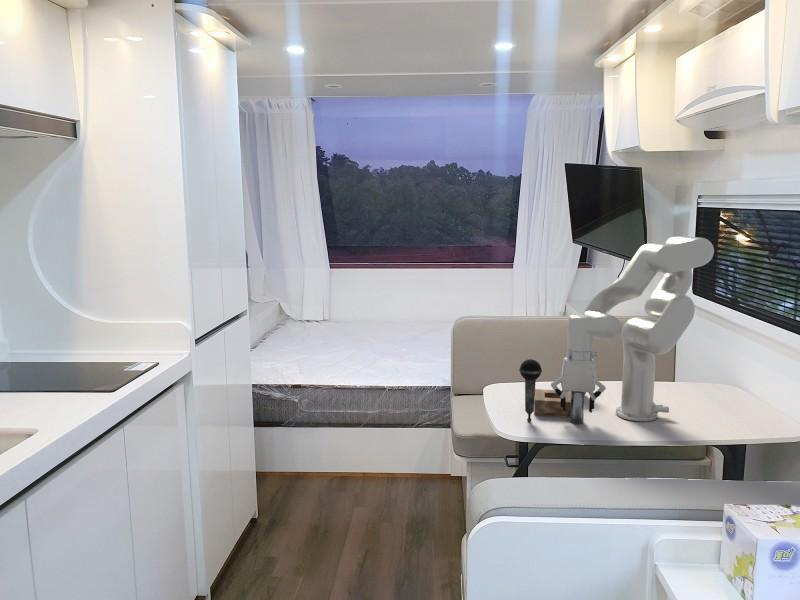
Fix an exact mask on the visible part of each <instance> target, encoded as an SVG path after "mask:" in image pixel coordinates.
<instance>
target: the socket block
mask: <svg viewBox="0 0 800 600" xmlns="http://www.w3.org/2000/svg"><path fill="white" fill-rule="evenodd" d="M565 398H566V403H565V411H563V407H560V403H561V398H560V396H559V395H558V394H557V393H556V392H555V390H554V389H541V388H535V399H534V412H533V415H534V416H544V417H546V416H547V417H558V418H559V417H561V418H562V417H563V418H570V409H571V391H568V392H567V393H566V395H565Z"/></svg>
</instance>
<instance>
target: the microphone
mask: <svg viewBox="0 0 800 600" xmlns="http://www.w3.org/2000/svg"><path fill="white" fill-rule="evenodd" d="M518 370H519V373H520V375H521V377H522V378H523V379H524V402H525V403H524V404H525V405H524V406H525V408H524V410H525V412H526V414H527V419H526V421H527V422H528V423H531V422H532V418H531V415H532V414H533V413H534V403H535V389H536V380H537V379H539V377H540V376H541V374H542V372H543V369H542V366H541V364H540V363H539V362H538V361H537V360H535V359H532V358H529V359H526V360H524V361H523V362H522V363H521V364H520V366H519V369H518Z"/></svg>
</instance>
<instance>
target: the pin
mask: <svg viewBox="0 0 800 600" xmlns="http://www.w3.org/2000/svg"><path fill="white" fill-rule="evenodd" d="M584 394H585V392H573V391H571V409H570V417H569V423H571V424H573V425H583V424H584V416H585V415H584V412H585V395H586V394H585V395H584Z"/></svg>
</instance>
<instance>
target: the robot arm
mask: <svg viewBox="0 0 800 600" xmlns="http://www.w3.org/2000/svg"><path fill="white" fill-rule="evenodd" d="M714 253H715V248H714V245H713V244H712V242H711V241H710V240H709V239H706V238H705V237H700V236H699V237H697V236H688V235H687V236H686V235H684V236H683V235H677V236H676V235H675V236H671V237H669V238H668V239H667V240H665V242H664V243H654V242H653V243H651V242H650V243H645V244H643V245H641V246H640V247H639V248H638V249H637V251H636V252H635V253H634V255H633V256H632V258H631V259H630V261H629V262H628V263H627V265H626V267H625V268H624V270H623V271H622V272H621V274H620V275H619V276H618V278H617V279H616V280H615V281H614V282H612V283H610V284H609V285H607V286H606V287H605V288H604V289H602V290H600V292H598V293H597V294H595V296H593V298H592V299H591V300H590V302H589V303H588V305H587V306H586V307H585V309H584V311H583V312H582V314H580V313H579V314H577V313H576V314H571V315H569V317H568V319H567V331H566V332H567V333H566V334H567V335H566V337H567V338H566V344H567V345H566V357H563V360H562V366H561V375H560V377H558V378H557V379H555V380H554V381H552V382H551V383H550V386H551V388H552V390H555V392H556V393H557V394H558V395H559V396H560V398H561V403H560V407H563V411H565V403H566V398H565V395H566V393H567V392H568V391H573V392H586V393H588V395H589V397H588V412H589V414H590V413H593V410H594V409H595V401H596V399H598V397H600V396H601V395H602V393H604V392H605V390H606V389H607V388H606V386H605V385H604V384H603V383H602V382H601V381H599V380H598V379H597V377H596V364H595V359H594V357H598V352H597V351H594V350H593V346H594V345H593V344H594V341H593V340H594V339H596V340H597V339H599V340H612V339H614V338H616V337H618V336H619V335H620V334H621V341H622V348H623V350H622V351H623V360H622V361H623V363H622V364H623V365H622V367H623V368H622V382H621V383H622V384H621V401H620V406H618V407H616V408H615V414H616V415H617V416H618V417H620V418H621V419H625V420H628V421H633V422H652V421H655V420H657V419H658V415H659V414H658V413H666V414H668V413H670V407H669V406H664V405H663V404H656V403H655V402H654V396H655V395H654V393H655V379H656V378H655V376H656V356H655V355H657V356H659V355H664V354H667V353H668V352H670V351H671V350H672V349H673V348H674V347H675V346H676V344H677V342H678V341H679V340H680V338H681V337H682V336H683V334H684V333H685V331H686V330H687V329H688V327H689V326H690V324H691V322H692V321H693V319H694V316H695V312H696V307H695V302H694V300H693V299H692V298H691V297H690V296H688V295H686V294H687V293H688V291H689V290H690V288H691V286H692V284H693V270H692V269H696V268H699V267H703V266H705V265H707V264H708V263H709V262H710V261H711V260H712V259H713V257H714ZM657 273H662V274H663V276H662V278H661V280H659V282H658V284H657V285H656V287H655V288H654V289H653V291H652V292H651V293H650V295H649V296H648V298H647V300H646V301H645V304H644V311H645V314H646V315H647V316H649V317H650V318H652V319H655V321H654V320H652V319H648V318H645V317H640V316H638V317H637V316H636V317H631V318H629V319H628V320H627V321H625V322H624V324H623V326H622V323H621V321H620V320H619V319H618V318H617V317H616V316H614V315H611V314H609V312H611V311H612V309H614V308H615V307H616V306H618V305H619V304H622V303H624V302H627V301H631V300H634V299H636V298H639V297H641V296H642V295H643V293H644V292H645V291H646V289H647V287H648V286H649V285H650V284H651V281H652V280H653V279H654V277H655V276H656V275H657ZM656 320H657V321H656ZM558 385H561V389H560V388H558ZM596 386H597V387H598V389H597V390H596ZM595 390H596V391H595ZM594 391H595V392H594ZM656 418H657V419H656Z"/></svg>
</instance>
